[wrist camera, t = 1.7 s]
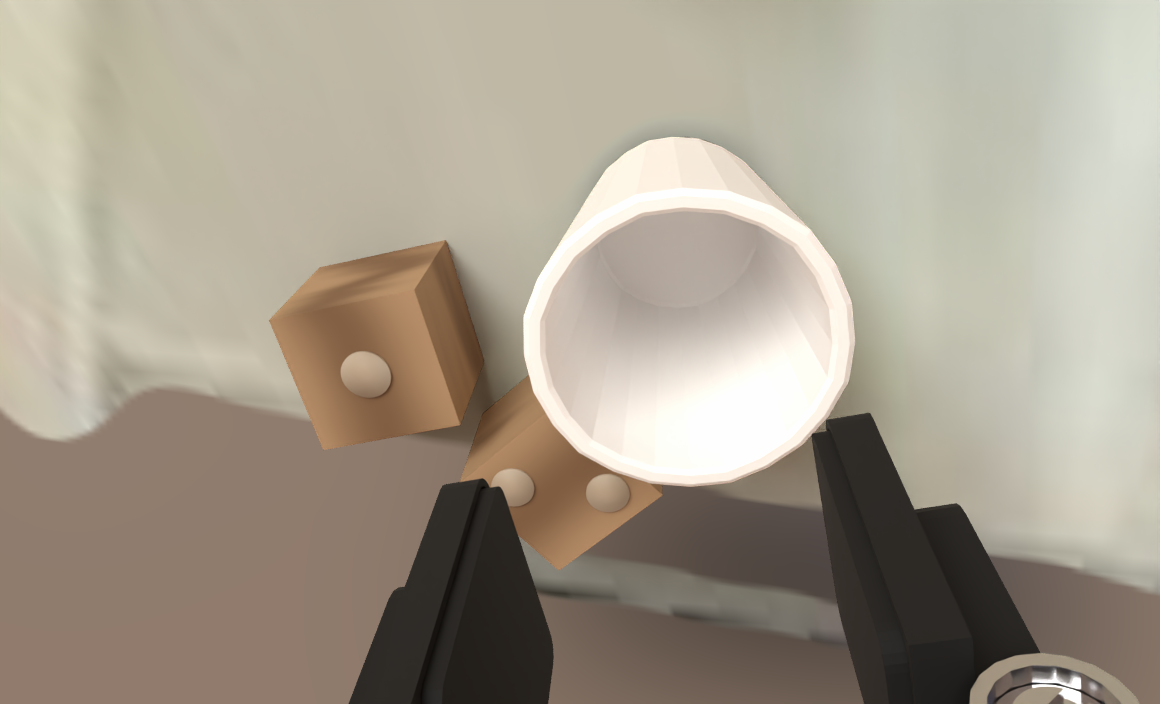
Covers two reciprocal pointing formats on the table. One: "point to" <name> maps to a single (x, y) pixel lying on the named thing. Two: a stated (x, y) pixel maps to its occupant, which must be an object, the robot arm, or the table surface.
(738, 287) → the cup
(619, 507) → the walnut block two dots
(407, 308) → the walnut block one dot
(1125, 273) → the table surface
